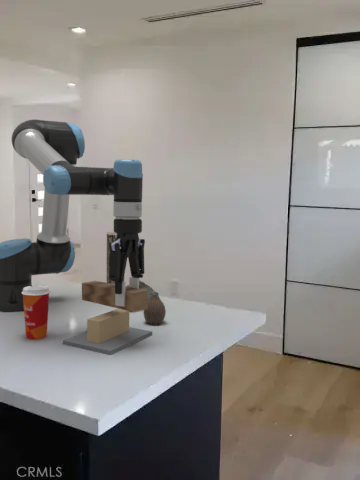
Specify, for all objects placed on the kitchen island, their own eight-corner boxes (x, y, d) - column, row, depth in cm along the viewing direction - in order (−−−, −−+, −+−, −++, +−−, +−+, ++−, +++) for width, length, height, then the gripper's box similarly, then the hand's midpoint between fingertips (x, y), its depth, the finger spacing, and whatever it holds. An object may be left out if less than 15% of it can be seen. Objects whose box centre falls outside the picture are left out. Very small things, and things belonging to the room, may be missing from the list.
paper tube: (120, 299, 185) (121, 233, 182) (103, 297, 186) (104, 232, 184) (126, 295, 192) (126, 232, 189) (109, 294, 193) (110, 231, 190)
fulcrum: (62, 343, 131) (62, 318, 131) (107, 326, 149) (107, 303, 148) (110, 354, 124) (110, 327, 123) (152, 334, 141) (152, 311, 140)
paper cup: (20, 334, 139) (20, 285, 138) (48, 331, 142) (48, 284, 141) (23, 342, 132) (23, 291, 131) (52, 339, 135) (52, 289, 134)
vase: (138, 322, 153) (139, 295, 153) (154, 318, 159) (155, 292, 158) (154, 327, 149) (154, 299, 148) (169, 323, 154) (170, 295, 153)
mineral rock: (157, 304, 179) (157, 277, 178) (163, 311, 168) (163, 282, 167) (122, 305, 176) (122, 277, 175) (125, 312, 165) (126, 283, 164)
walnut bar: (81, 299, 141) (81, 282, 141) (95, 297, 145) (95, 280, 145) (134, 312, 127) (133, 293, 126) (147, 308, 131) (147, 290, 130)
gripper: (118, 220, 120) (118, 312, 122) (158, 217, 136) (157, 298, 139) (94, 219, 123) (94, 308, 126) (135, 216, 140) (135, 295, 142)
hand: (127, 303), depth 132 cm, fingers closed on walnut bar, 6 cm apart
